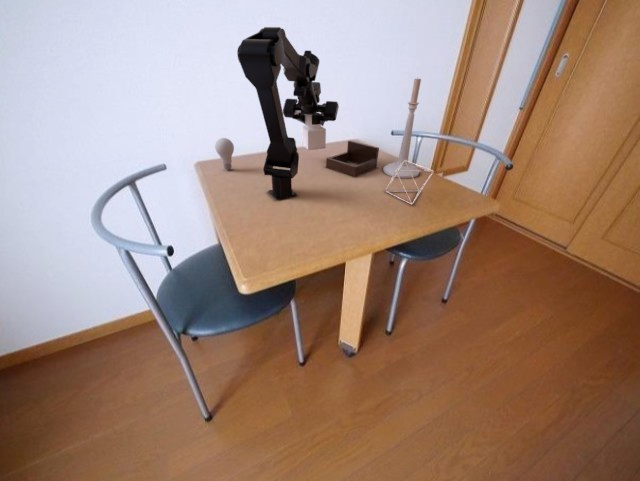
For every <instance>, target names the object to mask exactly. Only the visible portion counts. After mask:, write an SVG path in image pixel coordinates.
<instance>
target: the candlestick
mask: <svg viewBox="0 0 640 481" xmlns="http://www.w3.org/2000/svg"><path fill="white" fill-rule="evenodd" d="M421 81H422V78H414V79H413V85H412V92H411V96H410V101H408V102H407V104H408V107H407V108H408V114H407V118H406V122H405V127H404V131H403V136H402V141H401V145H400V150H399V154H398V158H397V162H390V163H388V164H386V165H385V166H383V168H382V172H383V173H384V174H386V175H388V176H390V177H393V175H394V173H395V171H396V170H397V168H398V167H399V166H400V165H401V164H402V162H403V161H404V160H406V163H407V165H408V167H409V169H410V171H409V169H408V167H407V165H406V163H405V161H404V163H403V165H402V166H401V168H400V167H399V168H400V170H399V169H398V170H399V171H398V170H397V171H398V175H399V177H400V179H413V178H417V177H418V176H419V175H420V170H419V169H418V168H417V167H416V165H414V164H411V163H409V162H407V161H409V156H410V149H411V143H412V142H411V141H412V134H413V126H414V120H415V112H416V110H417V108H418V105H419V104H420V102H418V97H419V94H420V93H419V92H420V88H421V83H422V82H421ZM410 172H411V174H412V176H413V178H412V176H411V174H410ZM395 174H396V173H395ZM398 175H397V174H396V176H395V175H394V176H395V178H398V179H399V177H398Z"/></svg>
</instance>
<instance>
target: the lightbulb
mask: <svg viewBox="0 0 640 481" xmlns="http://www.w3.org/2000/svg"><path fill="white" fill-rule="evenodd" d="M214 149H215V151H216V153H217V154H218V156H219V158H220V159H221V163H222V164H223V169H224V170H226V171H229V170H231V169H232V163H233V161H232V157H233V154H234V151H235V146H234V143H233V141H231V139H229V138H226V137H221V138H218V139H217V140H216V142H215V144H214Z"/></svg>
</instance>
